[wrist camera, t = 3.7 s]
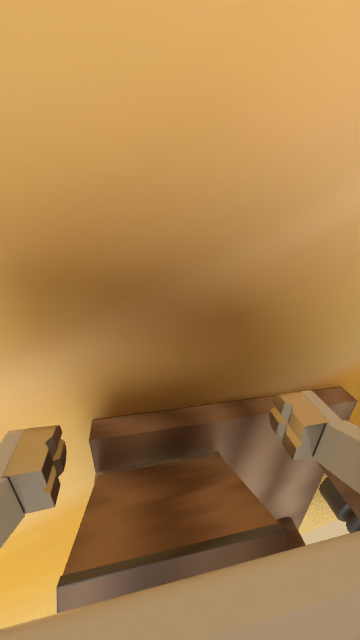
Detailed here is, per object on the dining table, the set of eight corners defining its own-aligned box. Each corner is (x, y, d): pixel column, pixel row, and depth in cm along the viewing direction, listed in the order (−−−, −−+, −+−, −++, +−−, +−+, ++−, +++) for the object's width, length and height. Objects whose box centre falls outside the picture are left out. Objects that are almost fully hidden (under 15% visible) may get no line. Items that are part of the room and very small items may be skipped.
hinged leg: (215, 446, 22) (289, 528, 11) (218, 471, 22) (296, 579, 11) (98, 466, 20) (52, 588, 9) (98, 494, 20) (53, 652, 9)
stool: (341, 386, 25) (535, 552, 13) (288, 516, 36) (368, 671, 24) (92, 420, 20) (42, 722, 8) (118, 557, 31) (112, 774, 19)
